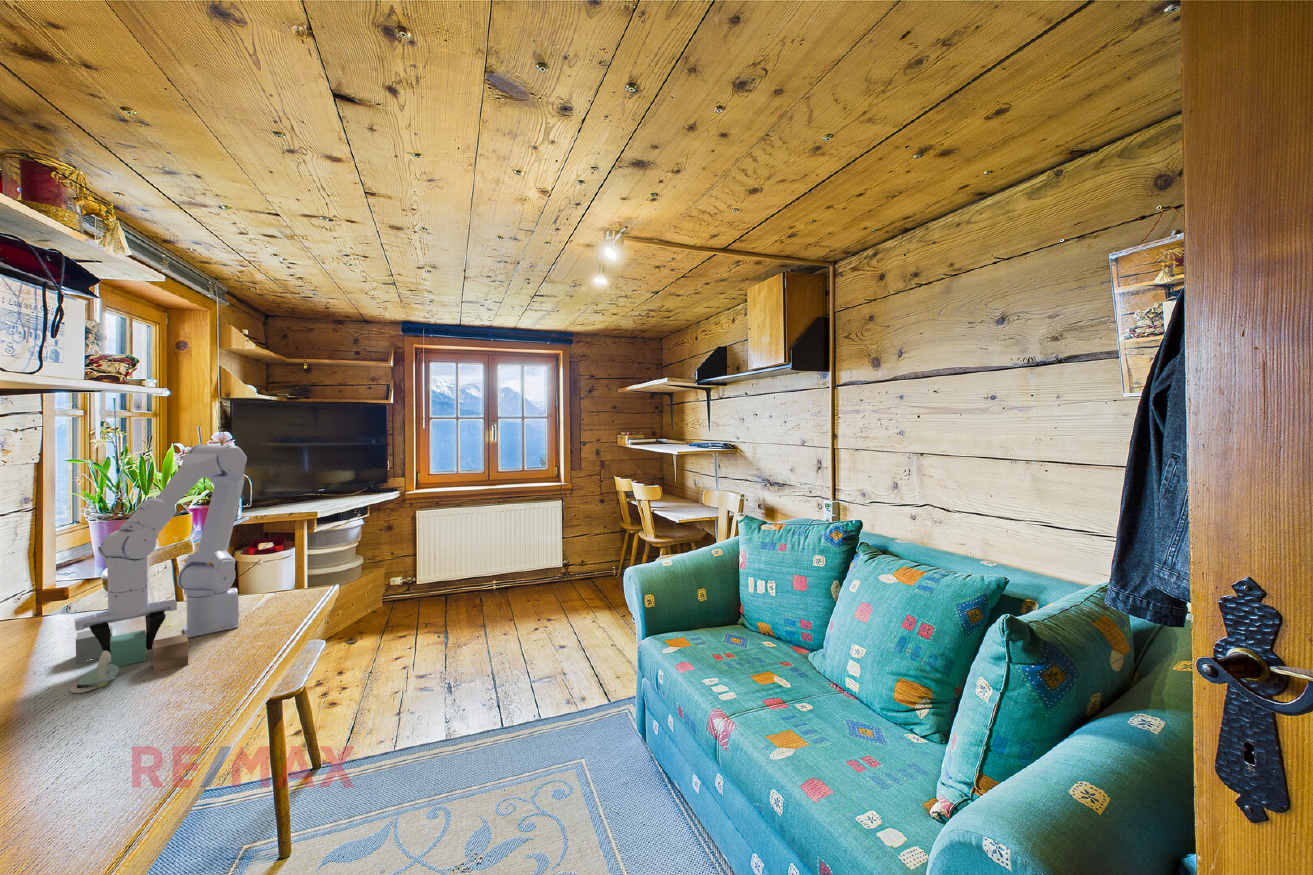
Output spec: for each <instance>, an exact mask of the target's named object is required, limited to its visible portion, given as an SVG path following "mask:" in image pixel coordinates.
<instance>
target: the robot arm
mask: <svg viewBox="0 0 1313 875" xmlns="http://www.w3.org/2000/svg"><path fill="white" fill-rule="evenodd" d="M247 461H248V457H247V455H246V454H245V452H244V451H243V450H242V448H241V447H239V446H238V445H233V444H228V445H219V444H218V445H217V444H215V445H214V444H212V445H211V444H207V445H206V444H202V443H201V444H196V445H194V446H192V447H191V448H190V449H189V450H188V451H187V453H186V454H184V456H182V464H181V466H180V467H179V468H178V469H177V471H176V472H175V474H174V475H173V476H172V478H170V480H169V481H168V482H167V484H166V485H165V486H164V488H163V489H162V490H161V492H160V493H159V494H158V495H157V497H154V498H150V499H146V500H144V502H140V503H139V504H138V505H137V506H136V507H137V509H136V510H135V512H133V514H132V515H131V516H130V517H129V518H127V520H126V521H125V522H124V523H123V524H122V525H121V526H120V528H119V529H118V530H115V531H112V532H110V533H109V534H107V535H106V536H105V537H104V538H103V540H101V543H100V546H97V551H98V554H99V555H100V556H101V557H102V558H104V561H105V562H104V563H105V564H104V565H105V566H106V567H107V568H106V569H107V610H106V611H103V612H102V611H101V612H99V613H94V614H91V615H87V616H83V617H78V618H74V630H75V631H76V632H79V631H83V630H84V629H86V628H87V629H88V628H89V630H91V632H92V633H93V634H94V636H95V637H96V638H97V640H98V641H99V643H100V645H101V647H102V649H103V651H108V652H110V654H111V650H110V628H109V627H110V624H112V623H117V622H121V621H125V620H126V621H127V620H130V619H135V618H141V617H144V619H145V632H146V651H151V650H152V651H153V641H154V640H156V637H157V634H158V632H159V629H160V628H161V626H162V624H163V623H164V621H165V620H166V612H172V611H173V612H174V611H177V610H178V607H177V606H178V604H177V603H178V601H177V600H176V599H174V598H173V599H169V600H164V601H163V600H162V601H154V602H149V601H148V600H149V598H148V596H149V592H148V590H149V589H148V588H149V587H148V586H149V585H148V581H149V580H148V556H149V555H150V554H151V553H152V552H154V551H155V549H156V547H157V546H156V545H157V540H158V538H159V535H160V533H161V531H162V530H163V529H164V528H165V526H166V525H168V523H169V522H170V521H171V520H172V518H173V517H175V515H176V514H177V509H176V507H175V506H176V505H177V504H178V502H180V501H181V499H183V497H185V496H186V495H187V493H189V492H190V490H191V489H193V487H195V485H196V484H197V483H198V482H199V481H201V479H204V478H206V479H208V480H209V481H210V482H211V483H212V484H213V489H212V490H213V491H212V493H211V499H210V502H209V506H208V509H207V514H206V516H205V517H206V518H205V521H204V525H203V529H202V532H201V537H200V541H199V544H198V548H197V550H196V551H195V552H194V553H192V554H190V555H189V556H188V557H186V560H185V563H184V565H183V567H182V568H181V569H180V571H179V572H178V575H177V577H176V582H177V585H178V588H180V589H181V590H183V594H184V595H186V625H185V626H183V632H184V634H187V638H188V639H189V638H194V637H199V636H203V635H207V634H212V633H217V632H222V631H226V630H231V629H235V628H236V629H237V628H239V627H240V625H239V620H240V618H239V617H240V611H239V593H238V592H239V590H238V588H237V587H232V585H233V584H234V582H235V579H236V576H237V575H236V570H235V568H236V566H235V565H236V559H235V557H233V556H232V555H231V554H230V552H228V551H229V550H228V549H229V547H230V546H229V545H230V542H231V541H230V540H231V539H232V534H233V528H234V527H235V526H234V524H235V521H236V517H237V513H238V509H239V506H240V500H241V497H242V491H243V488H244V484H245V469H246V464H247ZM208 563H210V564H208ZM110 661H111V659H110Z"/></svg>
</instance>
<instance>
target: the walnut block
mask: <svg viewBox="0 0 1313 875" xmlns="http://www.w3.org/2000/svg"><path fill="white" fill-rule="evenodd" d="M152 654H153V655H152V665H153V666H152V667H153V674H156V673H160V672H161V673H162V672H164V671H168V669H169V670H172V669H171V668H173V669H177V668H181V667H184V666H189V638H187V634H185V633H184V634H179V635H174V636H170V637H168V636H167V637H164V638H159V639H154V641H153V647H152Z"/></svg>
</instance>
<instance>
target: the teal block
mask: <svg viewBox="0 0 1313 875" xmlns="http://www.w3.org/2000/svg"><path fill="white" fill-rule="evenodd" d="M146 661H147V649H146V629H142V630H137V631H132V632H127V633H122V634H117V635H116V634H115V635H112V636H111V660H110V664H113V665H116V666H117V667H118V668H121V667H124V666H127V665H128V666H130V665H133V663H134V664H137V663H141V662H142V663H143V662H146Z"/></svg>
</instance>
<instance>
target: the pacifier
mask: <svg viewBox="0 0 1313 875" xmlns="http://www.w3.org/2000/svg"><path fill="white" fill-rule="evenodd" d="M110 659H111V654H110V652H108V651H103V653H102V654H101V656H100V659H98V662H97V666H96V668H93V669H92V670H90V671H88V672H87V673H86V674H85V675H83V677H82V678H81V679H80V680H79V681H77V682H75V683H73V684H72V685H71V686H70V688H69V691H70V693H71V694H81V693H86V692H90V691H92V690H95V689H98V688H102V687H105V686H106V685H108V684H109V683H110V681H112V680H115V679H116V676H117V675H118V674H119V668H120V667H117V666H116V665H113V664H111V660H110ZM88 685H89V686H88ZM80 686H87V687H81V688H79V687H80Z"/></svg>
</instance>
